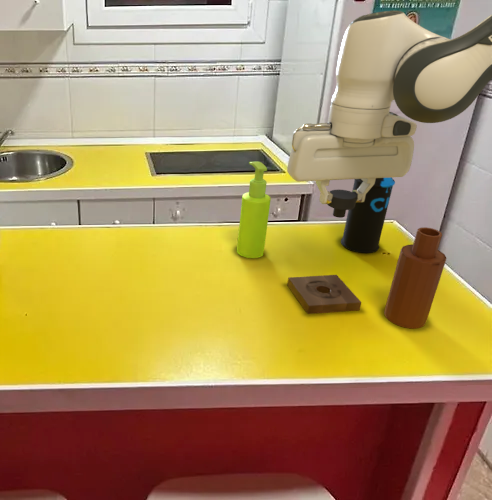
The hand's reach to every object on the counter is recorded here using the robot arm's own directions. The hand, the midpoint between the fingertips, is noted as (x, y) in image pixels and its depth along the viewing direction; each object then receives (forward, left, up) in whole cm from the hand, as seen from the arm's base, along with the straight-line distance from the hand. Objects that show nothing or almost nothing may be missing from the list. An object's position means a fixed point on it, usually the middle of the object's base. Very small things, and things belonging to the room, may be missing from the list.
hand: (341, 202), depth 90 cm
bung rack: (0, 0, -20) cm, 20 cm away
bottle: (-12, +8, -20) cm, 24 cm away
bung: (0, 0, -3) cm, 2 cm away
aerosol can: (-18, -20, -20) cm, 33 cm away
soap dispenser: (+8, -20, -20) cm, 29 cm away
